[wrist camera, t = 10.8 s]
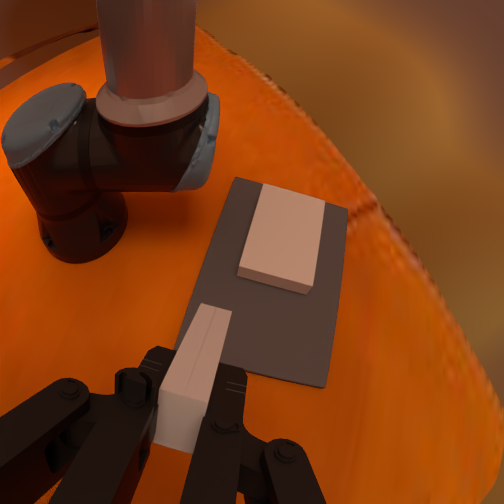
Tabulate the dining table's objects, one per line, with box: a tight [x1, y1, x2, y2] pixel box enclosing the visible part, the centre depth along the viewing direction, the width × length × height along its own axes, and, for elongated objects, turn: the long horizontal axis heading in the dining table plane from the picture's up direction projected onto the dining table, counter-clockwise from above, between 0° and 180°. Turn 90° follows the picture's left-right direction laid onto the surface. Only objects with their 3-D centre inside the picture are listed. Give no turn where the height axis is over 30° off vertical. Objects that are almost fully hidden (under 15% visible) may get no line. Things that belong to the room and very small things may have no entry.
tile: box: [237, 183, 325, 295], centre depth 48 cm, size 3×10×15 cm
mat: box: [174, 177, 348, 389], centre depth 47 cm, size 30×20×1 cm, turn 166°
